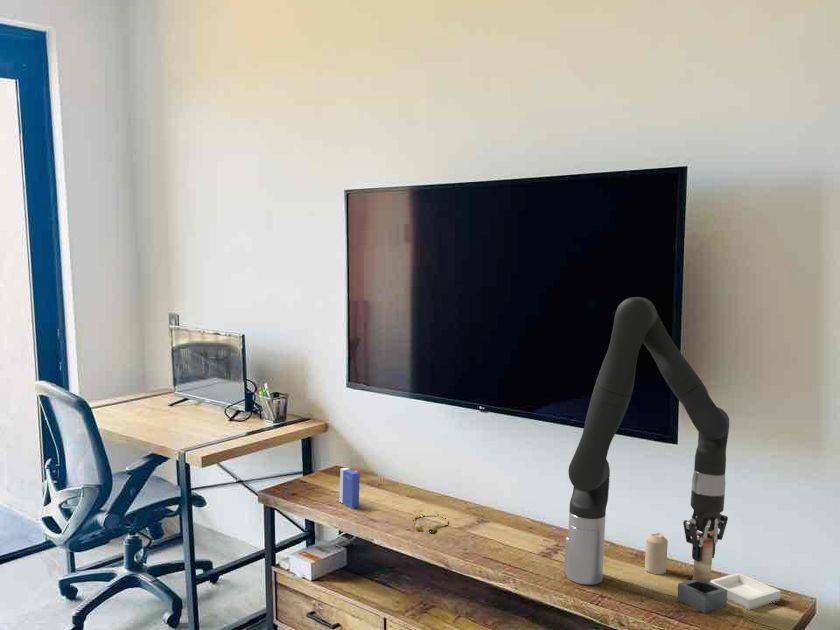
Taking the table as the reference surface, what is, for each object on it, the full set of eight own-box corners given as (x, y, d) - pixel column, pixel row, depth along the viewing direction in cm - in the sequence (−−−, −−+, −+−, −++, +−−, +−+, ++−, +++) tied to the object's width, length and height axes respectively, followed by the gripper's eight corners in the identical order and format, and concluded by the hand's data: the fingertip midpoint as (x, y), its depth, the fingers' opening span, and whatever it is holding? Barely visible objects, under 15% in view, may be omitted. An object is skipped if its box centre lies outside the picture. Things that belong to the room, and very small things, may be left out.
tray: (707, 590, 185) (707, 581, 185) (737, 581, 191) (737, 572, 191) (749, 610, 175) (749, 600, 175) (779, 600, 181) (780, 590, 181)
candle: (654, 565, 201) (655, 529, 200) (670, 572, 196) (672, 535, 196) (640, 568, 198) (642, 532, 197) (656, 576, 193) (658, 539, 193)
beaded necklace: (398, 527, 225) (398, 521, 225) (427, 514, 238) (427, 508, 238) (430, 536, 218) (430, 530, 218) (458, 523, 231) (458, 516, 231)
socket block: (677, 599, 179) (678, 583, 179) (699, 593, 184) (699, 577, 183) (704, 612, 173) (705, 596, 172) (726, 606, 177) (727, 590, 176)
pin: (689, 577, 179) (692, 538, 178) (700, 574, 181) (703, 535, 180) (703, 584, 175) (705, 543, 175) (713, 581, 177) (716, 541, 177)
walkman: (358, 507, 242) (359, 471, 241) (352, 508, 240) (352, 473, 240) (345, 501, 248) (346, 466, 247) (339, 502, 246) (339, 467, 246)
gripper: (714, 482, 183) (709, 548, 184) (675, 488, 176) (670, 557, 177) (740, 491, 177) (735, 559, 178) (701, 498, 170) (696, 569, 171)
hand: (703, 558), depth 178 cm, fingers closed on pin, 4 cm apart
